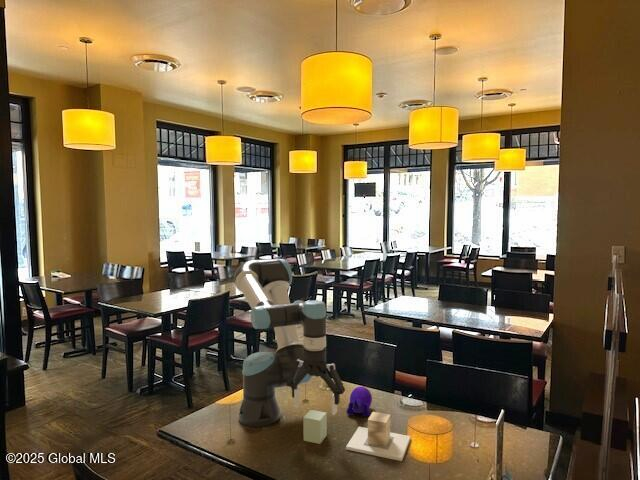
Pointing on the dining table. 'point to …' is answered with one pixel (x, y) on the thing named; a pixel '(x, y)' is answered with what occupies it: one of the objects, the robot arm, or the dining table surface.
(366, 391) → the toy
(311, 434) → the block sage
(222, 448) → the dining table surface
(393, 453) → the base plate
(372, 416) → the block maple
